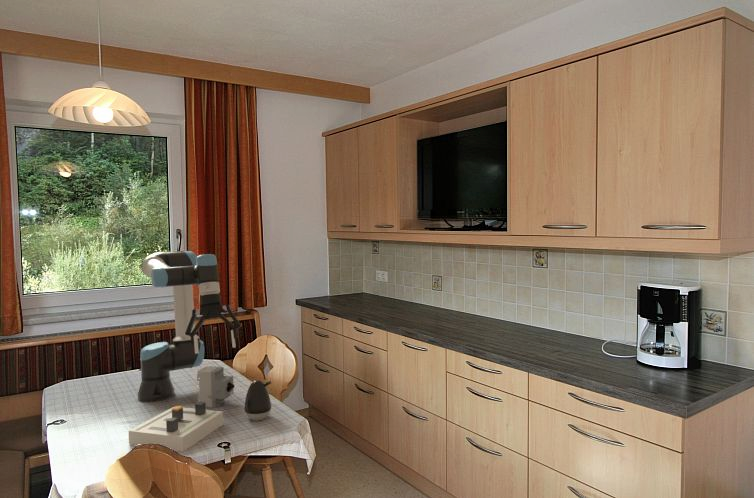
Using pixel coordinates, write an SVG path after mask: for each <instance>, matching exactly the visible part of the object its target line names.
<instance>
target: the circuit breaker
mask: <svg viewBox="0 0 754 498" xmlns="http://www.w3.org/2000/svg"><path fill="white" fill-rule="evenodd" d="M224 374H225V372H224V367H223V366H209V365H208V366H205V367H202V368H201V369H200V370H198V371H197V374H196V382H199V383H198V386H199V394H198V395H197V403H199V402H205V404H206V408H217V407H218V406H219V405H221V404H222V403H223V402H225V400H226V399H227V398H229V397H231V396H232V395H233V394H234V393H235V392H234V391H235V389H234V388H235V384H234V376H233V375H224Z"/></svg>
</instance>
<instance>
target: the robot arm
mask: <svg viewBox="0 0 754 498" xmlns="http://www.w3.org/2000/svg"><path fill="white" fill-rule="evenodd" d="M217 261H218V260H217V257H216V255H215V254H212V253H207V254H205V253H204V254H199V255H198V256H197V255H196V253H194V252H193V251H190V250H178V251H159V252H155V253H151V254H149V255H147V256H146V257H145V258H144V259H143V260H142V262H141V264H140V269H141V272H142V273H143V274H144V276H146V277H148V278H150V279H151V285H152V286H153V287H154V288H165V287H166V288H167V287H172V295H173V307H174V308H173V311H174V313H173V314H174V325H175V326H174V327H175V337H174V338H173V339H172V344H170V343H169V342H167V341H160V342H156V343H151V344H148V345H145V346H143V348H141V350H140V358H139V361H140V370H141V371H140V374H141V375H140V376H141V377H140V378H141V380H140V381H141V382H140V385H139V389H138V392H137V400H138V401H140V402H146V403H150V402H159V401H164V400H167V399H170V398H172V397H173V396H174V395H175V394H176V393H175V387H174V384H173V382H172V380H171V377H170V375H171V374H170V373H171V372H172V371H178V370H184V369H192V368H196V367H199V366H201V365H202V363H203V361H204V357H205V345H204V344H205V343H204V342H203V340H201V339H200V337H199V335H197V333H198V332H199V330H200V329H201V327H202V325H203V324H204V322H205V321H206V320H212V319H218V318H219V319H221V320H222V321H223V322H224V323H226V325H228V326H229V327H230V328H231V330H230V334H231V344H232V349H233V348H236V347H237V346H236V339H237V338H239V337H238V329H240V328H242V324H241V323H240V321H239V319H238V318H237V316H236V315H235V313H234V312H233V311H232V308H231V305H230V304H226V305H222V297H221V294H220V293H221V288H220V282H219V281H220V280H219V279H220V278H219V271H218V270H219V267H218V262H217ZM194 285H195V286H198V292H199V295H200V297H199V301H200V302H199V303H200V304H199V305H200V308H199V309H195V304H194V289H193V286H194ZM223 310H225V311H226V312H227V313H228V315H229V316H230V318H231V319H232V320H233V322H234V323H235V324H234V323H232V322H231V321H230V320H229V319H228V318H227V317H226V316H225V315H223V314H222V312H223ZM199 314H201V315H202V316H201V317H200V319H199V321H198V322H197V323H196V319H197V316H199Z"/></svg>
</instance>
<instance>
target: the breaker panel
mask: <svg viewBox="0 0 754 498" xmlns="http://www.w3.org/2000/svg"><path fill="white" fill-rule="evenodd" d="M174 407H175V406H173V407H171V408H169V409H167V410H165V411H164V412H162V413H159V414H157V415H155V416H154V417H151V418H150V419H148V420H146V421H144V422H142V423H141V424H138V425H137V426H134V427H133V428H131V429H129V430H128V445H129V444H130V445H129V446H135V445H138V444H146V443H155V444H161V445H164V446H167V447H169V448H171V449H173V450H174V451H175V452H182V453H183V452H184V451H186V450H188V449H189V448H191V447H192V446H193V445H195V444H197V442H199V441H201V440H203V439H204V438H205V437H207V436H208V435H210V434H212V433H213V432H214V431H216V430H217V429H219V428H220V427H222V426H223V425H224V411H223V410H221V411H219V410H211V409H206V408H207V407H206V404H205V402H199V403H198V402H197V403H195V404H194V408H193V407H183V419H181V420H180V421H178V418H174V417H172V408H174ZM173 450H172V451H173Z"/></svg>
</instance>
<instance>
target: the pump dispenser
mask: <svg viewBox="0 0 754 498" xmlns="http://www.w3.org/2000/svg"><path fill="white" fill-rule="evenodd" d="M270 384H272V382H271V380H269V381H266V382H263V381H262V380H261V379H256V380H253V381H252V382H250V385H249V387H248V389H247V392H246V396H245V400H244V412H245V414H246V417H247V418H249V420H250V421H255V422H257V421H263V420H264V419H267V417H268V416H269V415H270V412H271V409H272V403H271V402H272V401H271V396H270V393H269V391H268V388H267V387H268V386H269V385H270Z"/></svg>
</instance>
